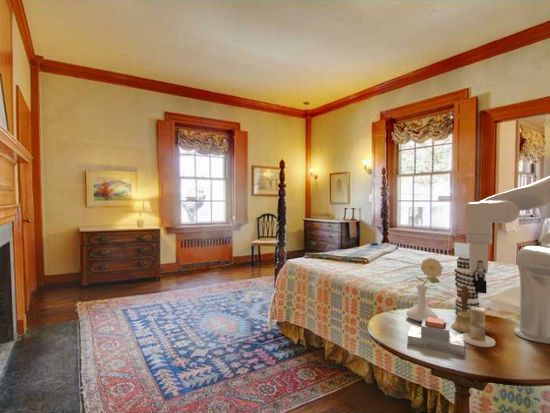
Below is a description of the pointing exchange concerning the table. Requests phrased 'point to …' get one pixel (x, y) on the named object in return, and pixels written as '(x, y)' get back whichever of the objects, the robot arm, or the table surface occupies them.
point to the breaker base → (436, 338)
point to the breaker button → (435, 322)
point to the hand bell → (463, 314)
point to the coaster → (488, 341)
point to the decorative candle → (465, 279)
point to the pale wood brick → (477, 324)
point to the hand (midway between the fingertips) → (479, 289)
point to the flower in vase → (421, 309)
